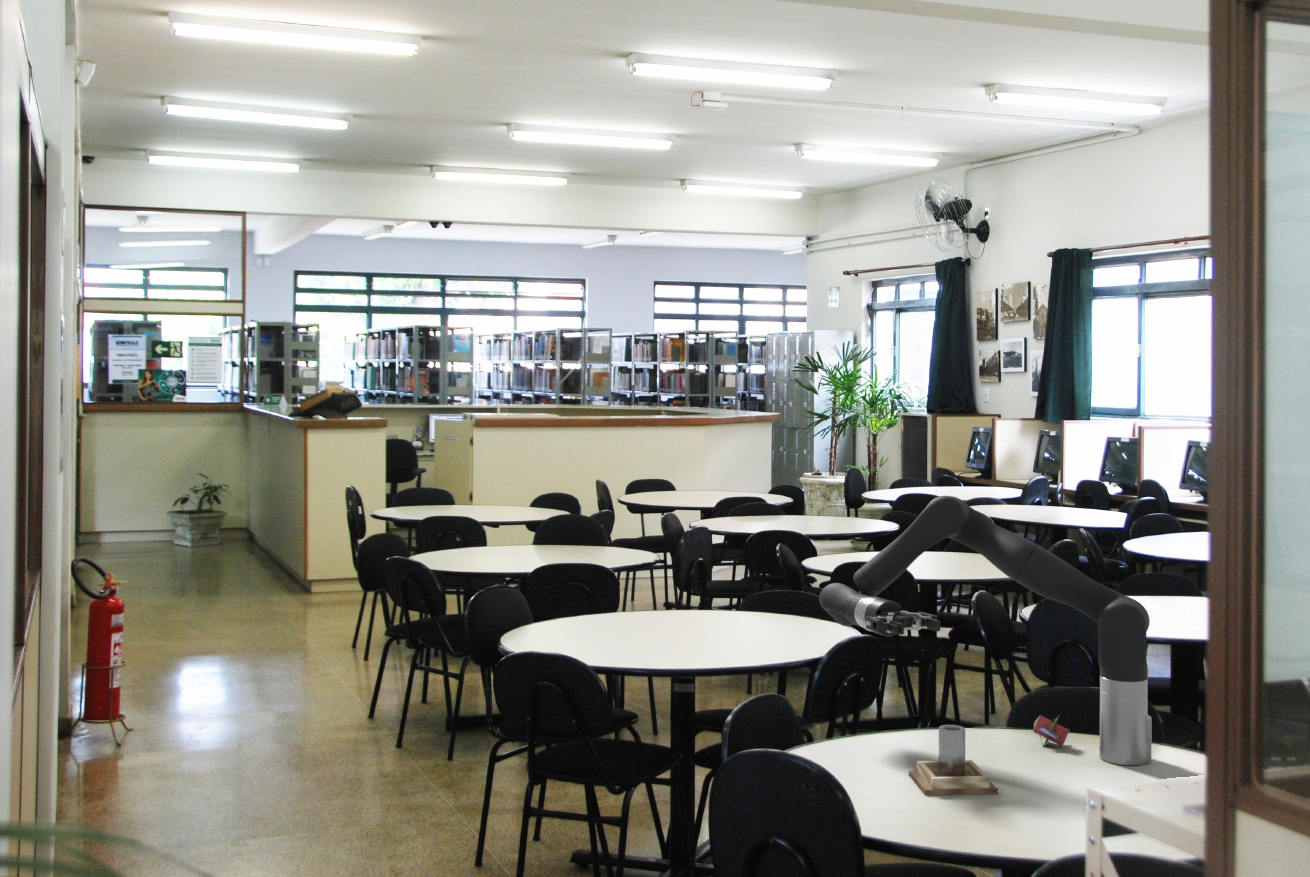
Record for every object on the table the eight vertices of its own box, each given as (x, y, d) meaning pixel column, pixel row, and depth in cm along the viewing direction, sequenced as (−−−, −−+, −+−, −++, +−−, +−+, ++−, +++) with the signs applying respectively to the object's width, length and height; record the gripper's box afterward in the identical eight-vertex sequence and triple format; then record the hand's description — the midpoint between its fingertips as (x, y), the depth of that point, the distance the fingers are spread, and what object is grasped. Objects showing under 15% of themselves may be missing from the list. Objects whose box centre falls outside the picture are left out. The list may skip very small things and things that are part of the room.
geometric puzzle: (1079, 735, 255) (1057, 703, 258) (1072, 742, 250) (1049, 710, 252) (1052, 750, 258) (1030, 719, 261) (1045, 758, 253) (1022, 726, 255)
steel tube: (960, 774, 232) (961, 724, 232) (968, 782, 227) (968, 731, 227) (935, 775, 232) (935, 724, 231) (942, 783, 227) (942, 731, 226)
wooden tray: (978, 774, 235) (978, 759, 235) (998, 793, 223) (998, 778, 223) (908, 775, 235) (908, 760, 235) (924, 795, 223) (924, 779, 223)
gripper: (849, 600, 251) (890, 612, 236) (907, 595, 256) (950, 606, 241) (850, 635, 252) (890, 649, 236) (907, 630, 257) (950, 643, 241)
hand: (920, 627), depth 239 cm, fingers open, 8 cm apart
